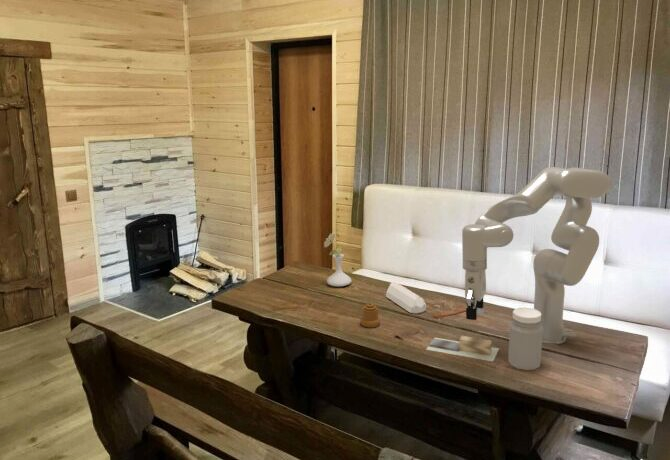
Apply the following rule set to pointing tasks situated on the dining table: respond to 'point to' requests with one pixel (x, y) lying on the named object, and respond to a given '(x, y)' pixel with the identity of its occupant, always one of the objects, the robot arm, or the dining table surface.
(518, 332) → the jar
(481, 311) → the axe
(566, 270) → the robot arm
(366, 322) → the ornamental finial
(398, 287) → the crystal
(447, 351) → the board
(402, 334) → the wood plank
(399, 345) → the dining table surface
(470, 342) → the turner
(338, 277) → the flower in vase
